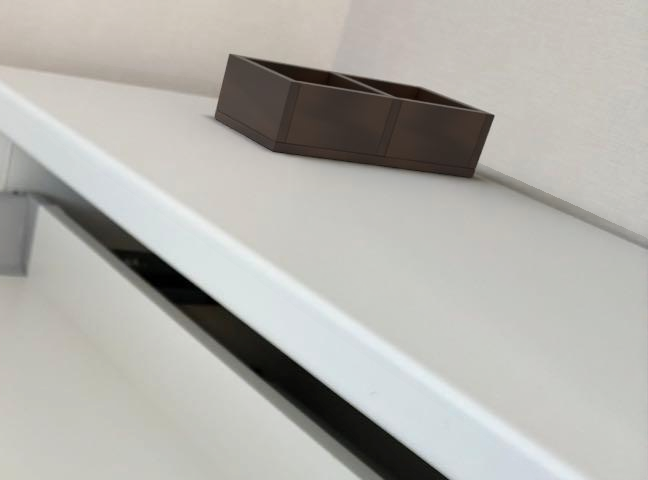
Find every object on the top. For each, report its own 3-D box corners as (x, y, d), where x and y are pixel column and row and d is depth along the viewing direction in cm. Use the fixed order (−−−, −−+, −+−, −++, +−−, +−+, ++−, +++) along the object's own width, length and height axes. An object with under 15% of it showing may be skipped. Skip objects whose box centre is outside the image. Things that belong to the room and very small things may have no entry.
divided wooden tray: (402, 145, 114) (421, 86, 111) (472, 177, 105) (495, 115, 102) (213, 118, 105) (228, 53, 102) (272, 151, 96) (291, 81, 93)
